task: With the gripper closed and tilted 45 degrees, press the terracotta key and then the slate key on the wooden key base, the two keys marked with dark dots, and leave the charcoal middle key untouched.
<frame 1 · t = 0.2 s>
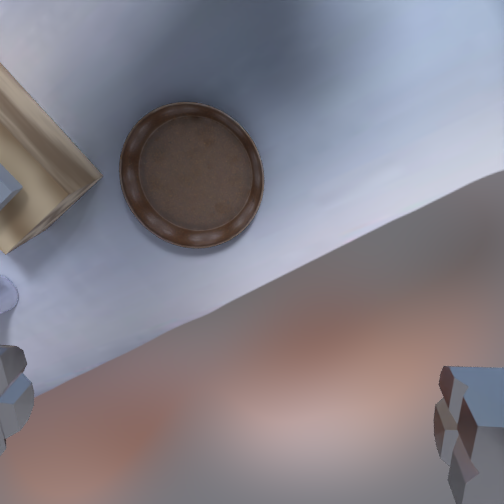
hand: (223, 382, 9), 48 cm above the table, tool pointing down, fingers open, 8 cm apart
plant saucer: (196, 173, 57), on the table
beer glass: (0, 291, 68), on the table
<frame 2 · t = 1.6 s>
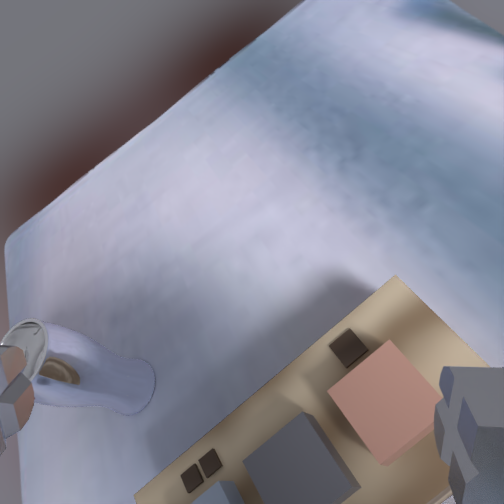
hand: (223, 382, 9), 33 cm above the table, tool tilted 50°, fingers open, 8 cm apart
charcoal key: (299, 473, 28), point 12 cm above the table, slide at 0.0 cm
wooden key base: (344, 467, 38), on the table
terracotta key: (388, 401, 27), point 12 cm above the table, slide at 0.0 cm
beer glass: (134, 387, 51), on the table
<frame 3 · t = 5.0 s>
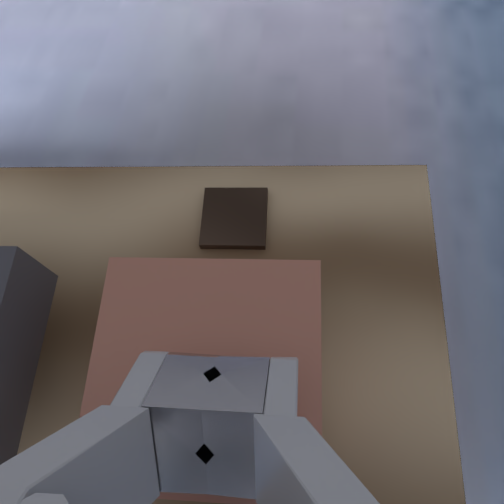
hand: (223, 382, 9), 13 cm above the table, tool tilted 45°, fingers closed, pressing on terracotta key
wooden key base: (106, 380, 22), on the table
terracotta key: (210, 374, 11), point 11 cm above the table, slide at 0.6 cm, touching gripper
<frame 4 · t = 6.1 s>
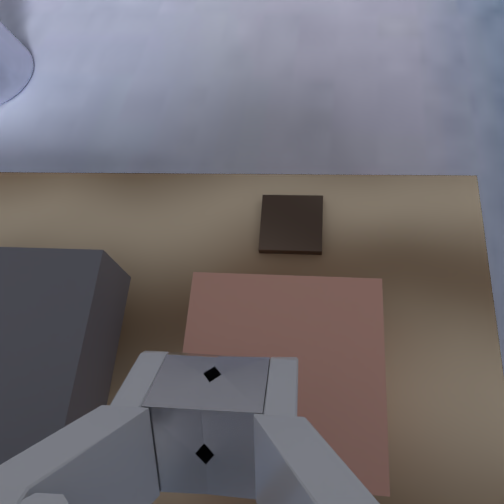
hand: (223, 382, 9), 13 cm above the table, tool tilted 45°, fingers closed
charcoal key: (6, 352, 12), point 11 cm above the table, slide at 0.0 cm
wooden key base: (151, 376, 23), on the table
terracotta key: (282, 377, 12), point 10 cm above the table, slide at 1.4 cm
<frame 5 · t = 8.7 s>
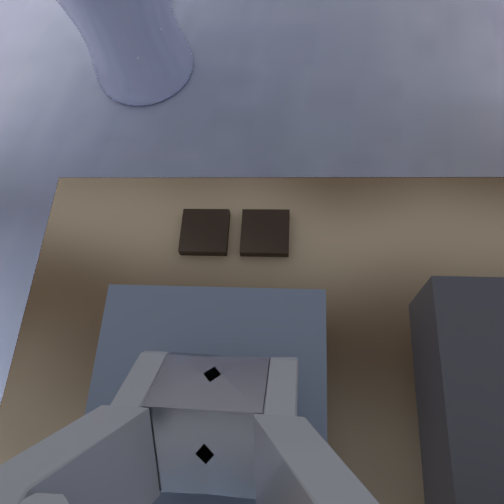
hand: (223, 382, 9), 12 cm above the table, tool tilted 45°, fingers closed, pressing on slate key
slate key: (212, 406, 10), point 10 cm above the table, slide at 1.0 cm, touching gripper
wooden key base: (415, 410, 20), on the table
beer glass: (147, 71, 29), on the table
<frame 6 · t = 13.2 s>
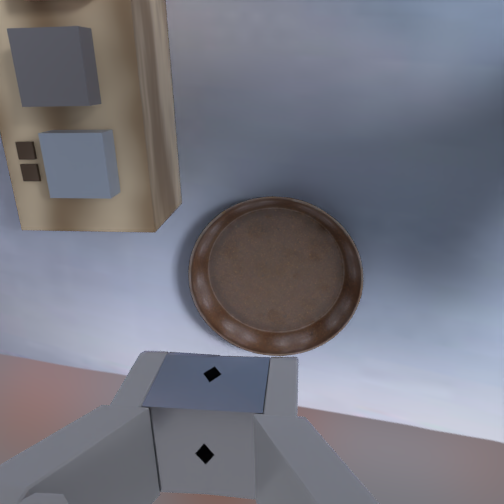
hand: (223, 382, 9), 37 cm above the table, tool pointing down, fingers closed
slate key: (81, 164, 36), point 10 cm above the table, slide at 1.4 cm
plant saucer: (276, 269, 49), on the table
charcoal key: (56, 68, 32), point 11 cm above the table, slide at 0.0 cm
wooden key base: (108, 68, 43), on the table
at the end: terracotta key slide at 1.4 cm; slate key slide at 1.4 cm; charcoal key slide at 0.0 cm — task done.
